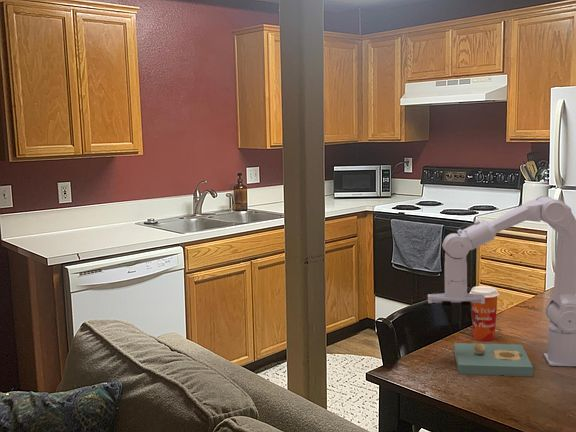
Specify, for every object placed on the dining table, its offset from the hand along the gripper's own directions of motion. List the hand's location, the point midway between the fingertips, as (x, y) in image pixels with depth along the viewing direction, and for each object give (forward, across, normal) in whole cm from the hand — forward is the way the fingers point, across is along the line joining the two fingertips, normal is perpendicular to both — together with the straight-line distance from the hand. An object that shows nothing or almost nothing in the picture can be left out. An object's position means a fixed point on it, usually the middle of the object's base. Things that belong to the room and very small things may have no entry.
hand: (456, 328), depth 165 cm
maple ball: (+5, -6, 0) cm, 8 cm away
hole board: (+9, -9, 0) cm, 13 cm away
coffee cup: (+10, -10, -20) cm, 24 cm away
